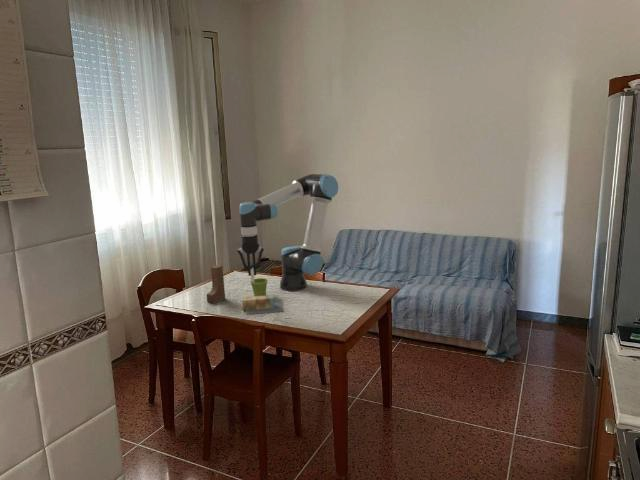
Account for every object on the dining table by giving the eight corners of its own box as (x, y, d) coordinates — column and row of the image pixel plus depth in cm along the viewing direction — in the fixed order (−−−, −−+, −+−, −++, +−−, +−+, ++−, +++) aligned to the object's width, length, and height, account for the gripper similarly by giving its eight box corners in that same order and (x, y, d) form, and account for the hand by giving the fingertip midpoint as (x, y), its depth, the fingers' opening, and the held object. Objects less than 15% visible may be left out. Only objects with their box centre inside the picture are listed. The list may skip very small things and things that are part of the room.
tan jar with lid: (243, 306, 234) (273, 304, 236) (243, 310, 229) (273, 307, 231) (242, 297, 233) (272, 295, 235) (242, 300, 228) (273, 298, 230)
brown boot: (212, 303, 242) (209, 270, 238) (206, 302, 244) (203, 269, 240) (225, 298, 249) (222, 265, 245) (219, 297, 251) (216, 264, 248)
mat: (281, 300, 242) (281, 300, 242) (283, 311, 227) (283, 310, 227) (246, 303, 240) (246, 302, 240) (246, 314, 224) (246, 314, 224)
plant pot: (264, 299, 245) (263, 283, 243) (248, 298, 247) (247, 282, 246) (271, 294, 253) (270, 278, 252) (255, 292, 256) (254, 277, 254)
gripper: (262, 232, 229) (266, 278, 234) (236, 234, 228) (239, 280, 233) (263, 235, 222) (266, 282, 227) (235, 237, 220) (239, 285, 225)
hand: (252, 281), depth 230 cm, fingers closed
